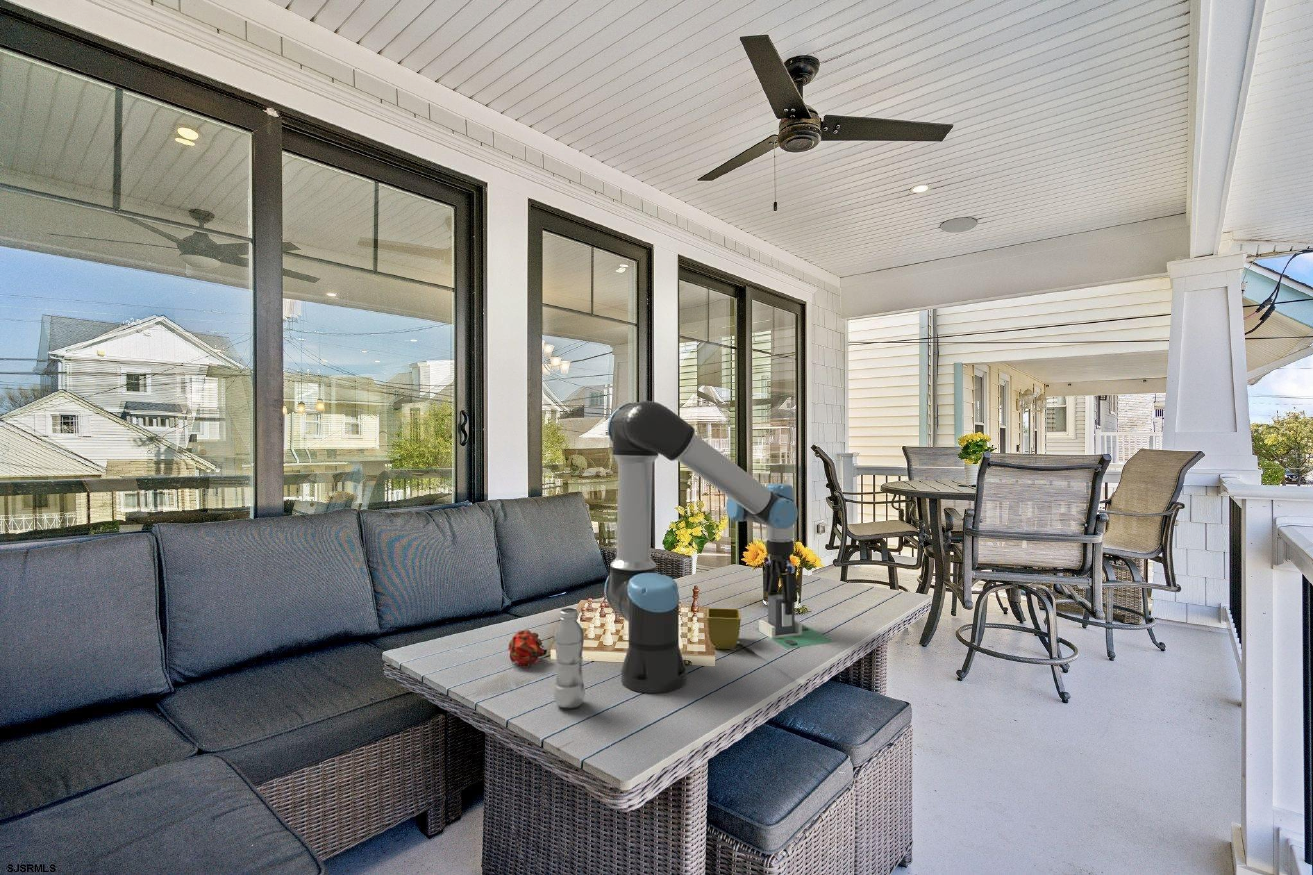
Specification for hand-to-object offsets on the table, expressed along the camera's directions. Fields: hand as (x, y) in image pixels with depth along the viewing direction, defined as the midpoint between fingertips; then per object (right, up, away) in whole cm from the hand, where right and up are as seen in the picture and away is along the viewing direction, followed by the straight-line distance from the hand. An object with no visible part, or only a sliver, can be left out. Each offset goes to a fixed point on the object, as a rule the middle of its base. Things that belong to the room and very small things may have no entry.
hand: (780, 622), depth 170 cm
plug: (0, -3, 0) cm, 3 cm away
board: (+3, -4, -2) cm, 6 cm away
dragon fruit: (-67, -5, -18) cm, 69 cm away
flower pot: (-17, -4, -7) cm, 19 cm away
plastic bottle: (-53, -5, -42) cm, 67 cm away
